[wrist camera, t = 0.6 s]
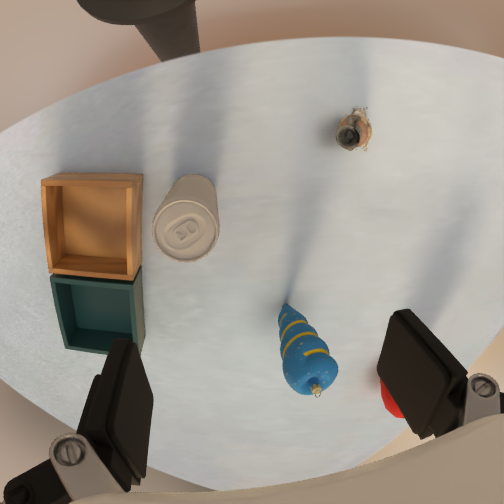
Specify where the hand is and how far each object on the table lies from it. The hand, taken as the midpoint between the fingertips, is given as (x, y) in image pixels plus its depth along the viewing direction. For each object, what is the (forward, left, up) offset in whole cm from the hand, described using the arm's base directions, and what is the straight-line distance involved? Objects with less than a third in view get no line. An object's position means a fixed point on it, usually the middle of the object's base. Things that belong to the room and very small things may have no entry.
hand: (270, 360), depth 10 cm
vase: (-9, +11, -24) cm, 28 cm away
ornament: (+13, +8, -24) cm, 29 cm away
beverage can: (0, -4, -24) cm, 25 cm away
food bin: (+3, -14, -24) cm, 28 cm away
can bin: (+13, -14, -24) cm, 31 cm away
